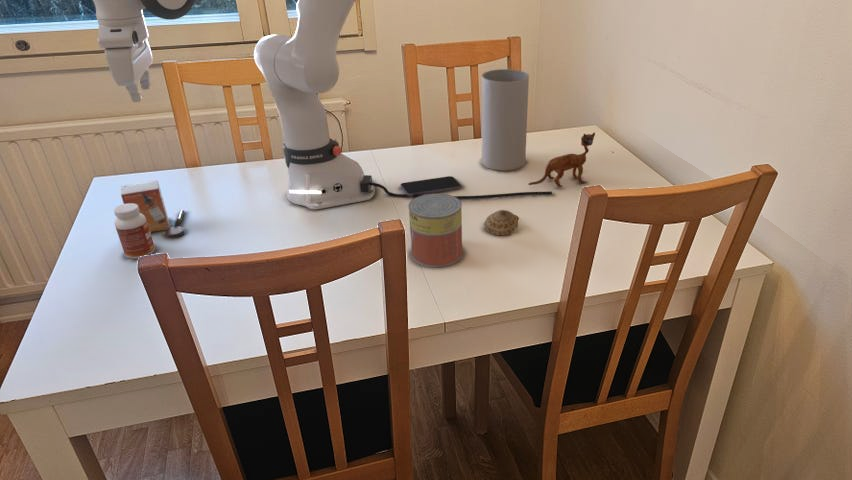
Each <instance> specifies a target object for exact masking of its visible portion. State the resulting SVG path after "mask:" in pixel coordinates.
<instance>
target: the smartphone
mask: <svg viewBox="0 0 852 480" xmlns="http://www.w3.org/2000/svg"><path fill="white" fill-rule="evenodd" d="M461 184H462V183H461ZM461 184H460V182H459V181H458V180H457V179H456V177H454V176H452V175H451V176H450V175H448V176H442V177H435V178H427V179H420V180H413V181H407V182H402V183H400V188H401V189H402V191H403V192H404V194H407V195H408V196H413V195H414V194H424V195H425V194H434V193H442V192H447V191H448V192H449V191H454V190H455V191H456V190H460V189H461V188H462V187H461V186H462V185H461Z"/></svg>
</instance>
